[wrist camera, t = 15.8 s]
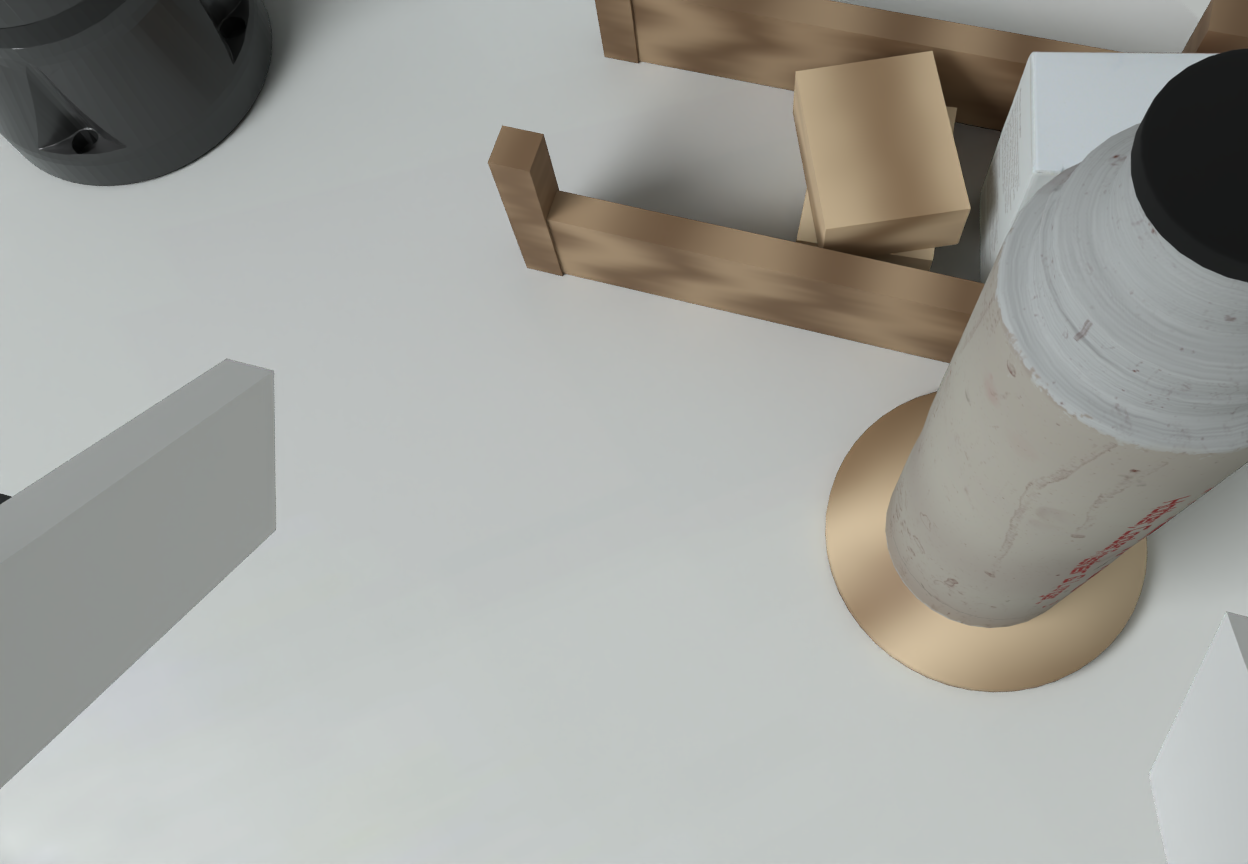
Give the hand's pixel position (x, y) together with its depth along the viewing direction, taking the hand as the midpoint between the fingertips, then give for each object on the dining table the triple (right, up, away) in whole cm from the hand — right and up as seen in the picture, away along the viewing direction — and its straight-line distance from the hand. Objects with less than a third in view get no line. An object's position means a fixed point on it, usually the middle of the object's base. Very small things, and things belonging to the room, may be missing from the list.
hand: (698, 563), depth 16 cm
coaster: (+14, -3, +32) cm, 35 cm away
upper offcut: (+10, +13, +36) cm, 39 cm away
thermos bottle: (+14, -2, +32) cm, 35 cm away
